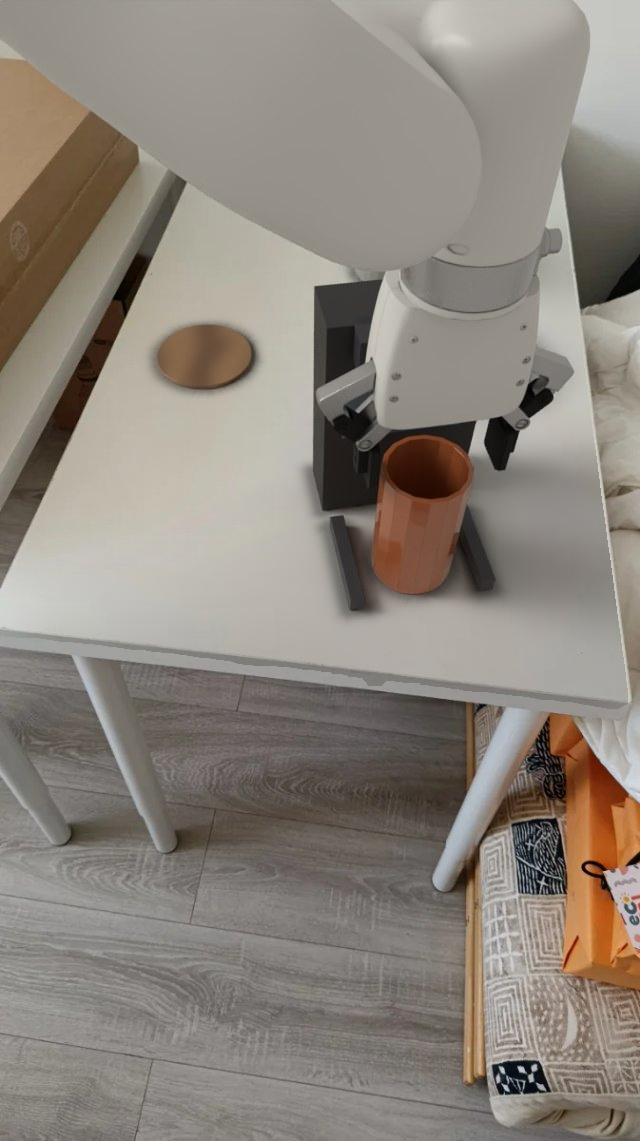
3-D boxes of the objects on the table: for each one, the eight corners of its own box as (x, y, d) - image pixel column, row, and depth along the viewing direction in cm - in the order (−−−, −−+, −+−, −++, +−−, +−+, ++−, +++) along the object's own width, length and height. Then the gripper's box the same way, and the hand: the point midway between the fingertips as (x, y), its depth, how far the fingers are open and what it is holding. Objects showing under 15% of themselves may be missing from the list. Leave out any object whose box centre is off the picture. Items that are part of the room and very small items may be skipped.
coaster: (160, 394, 79) (160, 391, 79) (154, 332, 85) (154, 329, 85) (257, 383, 80) (257, 380, 80) (245, 323, 86) (245, 320, 86)
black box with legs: (346, 611, 64) (359, 439, 48) (312, 470, 73) (314, 285, 57) (495, 589, 66) (557, 415, 50) (444, 453, 75) (483, 268, 59)
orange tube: (380, 599, 65) (393, 508, 55) (363, 536, 69) (373, 440, 59) (458, 588, 66) (485, 496, 56) (437, 526, 70) (458, 430, 60)
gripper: (588, 207, 47) (525, 416, 61) (305, 236, 45) (308, 445, 59) (639, 281, 42) (560, 487, 56) (329, 317, 41) (326, 521, 55)
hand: (431, 465), depth 58 cm, fingers open, 9 cm apart
